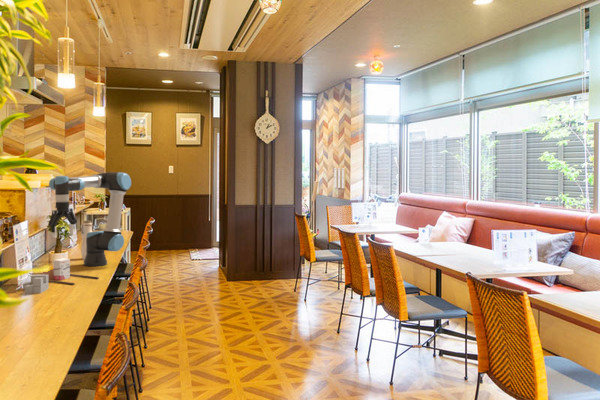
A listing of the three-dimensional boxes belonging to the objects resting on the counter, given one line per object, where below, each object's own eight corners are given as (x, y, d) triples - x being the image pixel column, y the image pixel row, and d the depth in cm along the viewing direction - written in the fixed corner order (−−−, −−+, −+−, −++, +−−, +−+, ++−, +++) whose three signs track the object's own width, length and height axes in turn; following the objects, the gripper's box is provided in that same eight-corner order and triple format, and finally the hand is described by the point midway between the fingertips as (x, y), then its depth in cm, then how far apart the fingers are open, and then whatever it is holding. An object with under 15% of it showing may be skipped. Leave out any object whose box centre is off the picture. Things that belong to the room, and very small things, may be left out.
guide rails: (67, 275, 329) (67, 273, 328) (98, 278, 319) (98, 277, 319) (40, 280, 310) (40, 279, 310) (73, 285, 301) (73, 283, 301)
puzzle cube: (25, 288, 290) (25, 274, 290) (48, 288, 292) (48, 274, 291) (16, 293, 278) (16, 278, 278) (40, 293, 280) (40, 278, 279)
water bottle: (88, 260, 382) (88, 221, 381) (77, 259, 384) (77, 221, 383) (96, 258, 392) (96, 220, 391) (85, 257, 394) (85, 220, 393)
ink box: (59, 280, 312) (59, 260, 312) (53, 279, 314) (52, 260, 313) (70, 277, 320) (70, 258, 320) (63, 277, 322) (63, 257, 321)
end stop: (66, 274, 329) (66, 265, 328) (69, 275, 328) (69, 265, 328) (40, 280, 310) (39, 270, 310) (42, 281, 309) (42, 271, 309)
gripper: (73, 199, 333) (73, 233, 335) (40, 202, 310) (41, 238, 312) (82, 200, 331) (83, 233, 332) (50, 203, 307) (51, 239, 309)
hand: (63, 236), depth 322 cm, fingers open, 13 cm apart
